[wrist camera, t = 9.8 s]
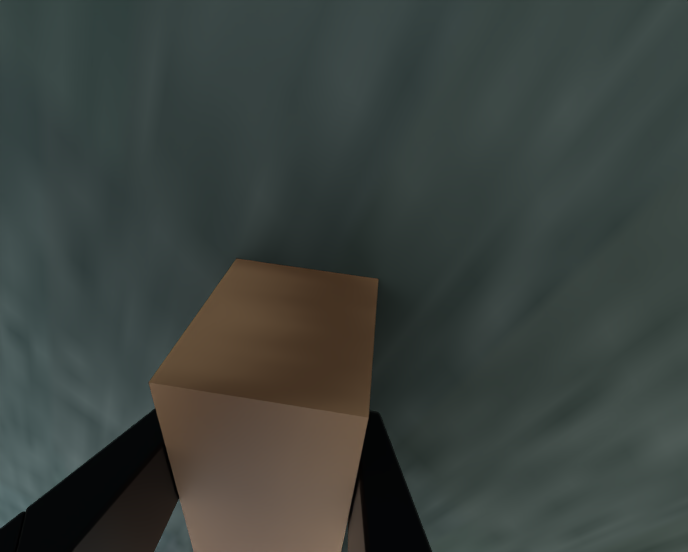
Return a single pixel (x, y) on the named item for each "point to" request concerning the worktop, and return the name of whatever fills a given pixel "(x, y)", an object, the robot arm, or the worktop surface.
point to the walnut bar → (270, 408)
